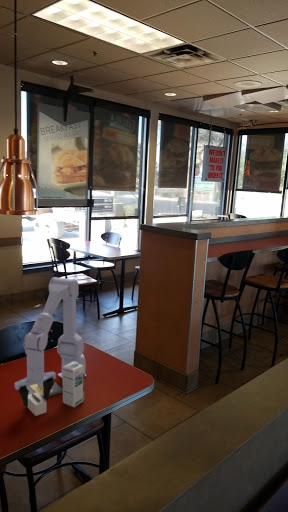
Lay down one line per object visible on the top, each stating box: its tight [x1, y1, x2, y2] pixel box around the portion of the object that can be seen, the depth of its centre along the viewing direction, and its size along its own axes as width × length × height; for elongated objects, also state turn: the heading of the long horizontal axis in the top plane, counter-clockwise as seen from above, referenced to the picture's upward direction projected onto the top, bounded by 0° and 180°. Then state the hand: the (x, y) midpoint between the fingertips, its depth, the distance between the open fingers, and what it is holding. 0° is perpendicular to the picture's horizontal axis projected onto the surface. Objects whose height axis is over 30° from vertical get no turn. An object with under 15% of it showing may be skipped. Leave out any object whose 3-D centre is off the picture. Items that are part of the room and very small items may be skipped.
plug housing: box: [26, 392, 47, 417], centre depth 141 cm, size 4×8×5 cm, turn 40°
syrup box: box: [61, 361, 85, 408], centre depth 146 cm, size 6×6×14 cm
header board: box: [26, 381, 63, 399], centre depth 154 cm, size 13×11×4 cm
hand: (35, 401), depth 141 cm, fingers open, 7 cm apart
